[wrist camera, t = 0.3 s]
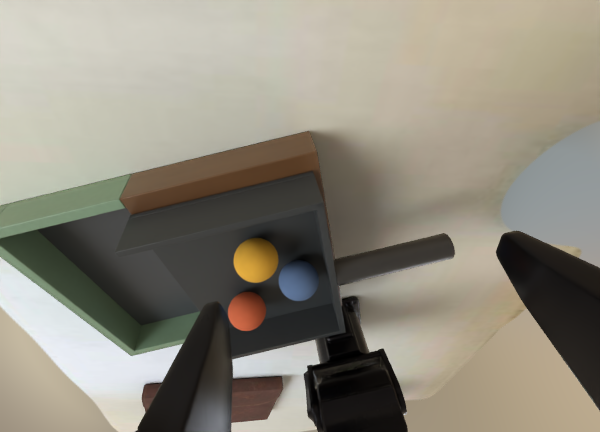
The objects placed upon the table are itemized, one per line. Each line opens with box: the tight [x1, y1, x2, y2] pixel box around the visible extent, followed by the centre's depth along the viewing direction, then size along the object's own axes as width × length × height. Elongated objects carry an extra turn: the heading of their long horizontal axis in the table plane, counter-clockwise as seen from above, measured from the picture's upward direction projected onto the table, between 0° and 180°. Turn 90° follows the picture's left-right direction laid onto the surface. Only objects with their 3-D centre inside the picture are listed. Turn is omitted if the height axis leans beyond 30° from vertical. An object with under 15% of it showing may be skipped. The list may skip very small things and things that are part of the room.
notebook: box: [142, 377, 283, 423], centre depth 49 cm, size 15×20×2 cm
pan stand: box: [120, 131, 342, 306], centre depth 26 cm, size 19×13×3 cm
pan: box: [115, 171, 455, 359], centre depth 24 cm, size 22×16×4 cm
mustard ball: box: [234, 238, 278, 283], centre depth 22 cm, size 3×3×3 cm
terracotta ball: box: [228, 292, 266, 331], centre depth 26 cm, size 3×3×3 cm
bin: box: [0, 174, 200, 356], centre depth 27 cm, size 19×10×3 cm, turn 11°
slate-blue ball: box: [279, 260, 319, 301], centre depth 24 cm, size 3×3×3 cm
